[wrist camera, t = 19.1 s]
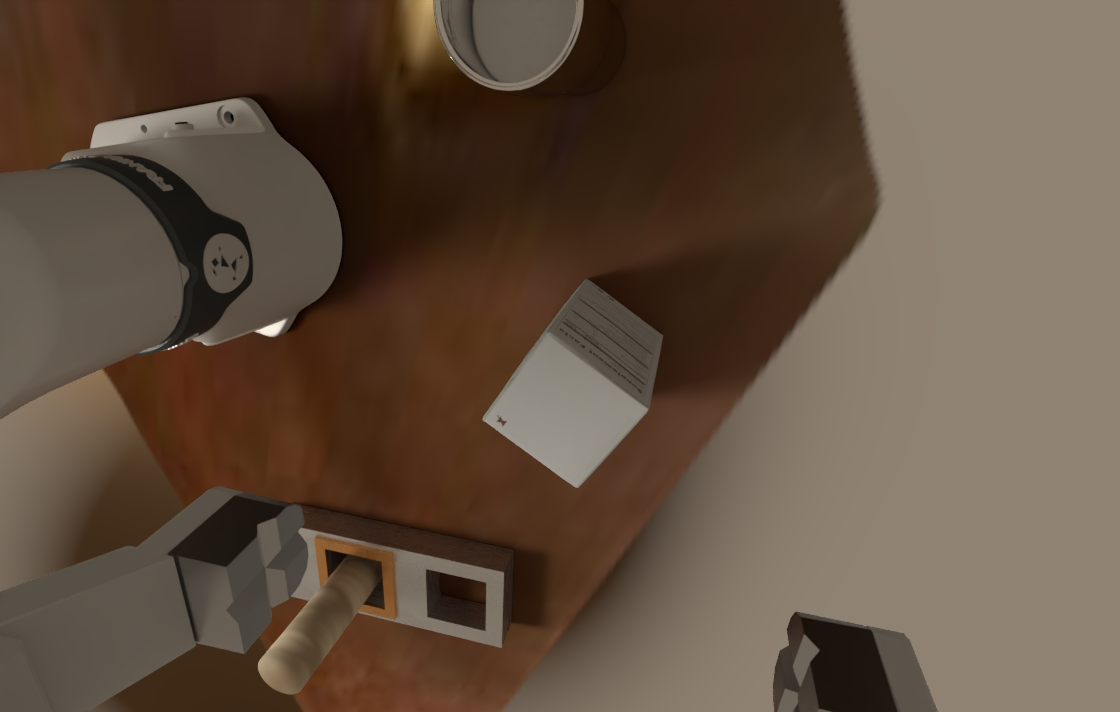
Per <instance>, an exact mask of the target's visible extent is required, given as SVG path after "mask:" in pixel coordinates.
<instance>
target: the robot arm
mask: <svg viewBox="0 0 1120 712" xmlns="http://www.w3.org/2000/svg"><path fill="white" fill-rule="evenodd" d="M231 113H232V114H233V116H234V121H232V119H231ZM341 254H342V231H341V224H340V219H339V215H338V211H337V208H336V205H335V202H334V200H333V198H332V195H331V193H330V191H329V189H328V187H327V185H326V184H325V182H324V180H323V179H322V177H321V176H320V174H319V173H318V172H317V170H316V169H315V168H314V166H313V165H312V164H311V163H310V162H309V161H308V160H307V159H306V158H305V157H304V156H303V155H302V154H301V153H300V152H299V151H298V150H296V149H295V148H294V147H293V146H291V145H290V144H289V143H288V142H286V141H285V140H284V139H283V138H282V137H281V136H280V135H279V134H278V133H277V132H276V130H275V128H274V127H273V125H272V123H271V122H270V120H269V119H268V117H267V116H266V114H265V113H264V111H263V110H262V108H261V107H260V106H259V105H258V104H257V103H256V102H255V101H254V100H252V99H250V98H246V97H242V98H235V99H229V100H224V101H218V102H213V103H207V104H202V105H196V106H191V107H185V108H180V109H174V110H169V111H163V112H158V113H152V114H147V115H141V116H136V117H130V118H125V119H119V120H114V121H108V122H103V123H100V124H98V125H97V126H96V127H95V130H94V133H93V136H92V140H91V147H90V149H84V150H78V151H72V152H68V153H66V154H65V155H64V157H63V158H62V160H61V162H58V163H56V164H54V165H51V166H49V167H48V168H46V169H44V170H32V171H19V172H6V173H0V419H2V418H4V417H5V416H7V415H9V414H10V413H12V412H14V411H15V410H17V409H19V408H20V407H22V406H24V405H25V404H27V403H29V402H31V401H33V400H35V399H37V398H39V397H41V396H43V395H45V394H47V393H48V392H50V391H53V390H55V389H57V388H59V387H62V386H64V385H66V384H68V383H71V382H73V381H75V380H77V379H80V378H82V377H84V376H87V375H89V374H91V373H93V372H96V371H98V370H100V369H102V368H105V367H107V366H109V365H112V364H114V363H116V362H119V361H121V360H123V359H125V358H128V357H130V356H132V355H147V354H153V353H156V352H159V351H162V350H166V349H172V348H175V347H177V346H180V345H182V344H185V343H187V342H189V341H191V340H194V341H198V342H203V344H204V345H216V344H219V343H222V342H225V341H228V340H231V339H234V338H236V337H239V336H242V335H245V334H248V333H250V332H253V331H254V332H257V333H260V334H263V335H266V336H269V337H275V336H278V335H281V334H284V333H285V332H286V331H287V330H288V329H289V328H290V326H291V325H292V323H293V321H294V319H295V318H296V316H297V314H298V312H300V311H301V310H302V309H303V308H305V307H306V306H308V305H310V304H311V303H313V302H315V301H316V300H317V299H319V298H320V297H321V296H322V295H323V294H324V293H325V292H326V291H327V289H328V288H329V287H330V285H331V284H332V282H333V280H334V278H335V276H336V274H337V271H338V268H339V265H340V260H341ZM304 524H305V523H304V517H303V512H302V508H301V507H299V506H297V505H295V504H292V503H288V502H284V501H280V500H276V499H272V498H268V497H263V496H259V495H255V494H251V493H247V492H240V491H236V490H232V489H228V488H224V487H220V486H219V487H216V488H212V489H209V490H208V491H206V492H205V493H204V494H203V495H201V496H200V497H199V498H198V499H196V500H195V501H194V502H193V503H191V504H190V505H189V506H188V507H186V508H185V509H184V510H183V511H181V512H180V513H179V514H178V515H176V517H174V518H173V519H172V520H170V521H169V522H168V523H167V524H165V525H164V526H163V527H162V528H160V529H159V530H158V531H157V532H155V533H154V534H153V535H152V536H150V537H149V538H148V539H147V540H145V541H144V542H143V543H142V544H140V545H139V546H138V547H137V548H136V547H131V546H126V547H123V548H121V549H118V550H115V551H112V552H109V553H107V554H104V555H101V556H98V557H96V558H93V559H90V560H87V561H85V562H82V563H79V564H76V565H74V566H70V567H68V568H65V569H62V570H60V571H57V572H54V573H51V574H48V575H45V576H43V577H40V578H37V579H35V580H32V581H29V582H26V583H23V584H21V585H18V586H15V587H12V588H9V589H7V590H4V591H1V592H0V712H87V711H89V710H90V709H92V708H94V707H95V706H97V705H99V704H100V703H102V702H104V701H105V700H107V699H109V698H110V697H112V696H114V695H115V694H117V693H118V692H120V691H122V690H124V689H125V688H127V687H129V686H130V685H132V684H134V683H135V682H137V681H139V680H140V679H142V678H143V677H145V676H147V675H149V674H150V673H152V672H153V671H155V670H157V669H158V668H160V667H162V666H163V665H165V664H167V663H168V662H170V661H172V660H173V659H175V658H177V657H178V656H180V655H182V654H183V653H185V652H187V651H188V650H190V649H192V648H193V647H195V646H196V643H199V644H203V645H208V646H212V647H216V648H221V649H225V650H230V651H234V652H238V653H243V654H245V652H246V651H247V650H248V649H249V648H250V646H251V645H252V644H253V643H254V641H255V640H256V639H257V638H258V637H259V635H260V634H261V633H262V632H263V630H264V629H265V628H266V627H267V626H268V624H269V623H270V622H271V621H272V607H274V606H276V605H278V604H280V603H282V602H284V601H286V600H288V599H289V598H290V597H291V596H292V594H293V593H294V592H295V591H296V589H297V588H298V587H299V585H300V583H301V581H302V578H303V576H304V574H305V571H306V569H307V563H308V556H309V554H308V545H307V543H306V542H305V540H304V539H303V538H302V536H301V535H300V534H299V533H298V531H299V530H300V528H301V527H302V526H303V525H304ZM787 634H788V640H789V646H787V647H786V648H784V649H782V650H780V652H779V656H778V660H777V663H776V666H775V674H774V682H773V701H774V712H938V711H937V708H936V706H935V703H934V701H933V698H932V696H931V693H930V690H929V688H928V686H927V683H926V680H925V678H924V675H923V673H922V670H921V668H920V665H919V663H918V660H917V657H916V655H915V652H914V650H913V647H912V645H911V642H910V640H909V639H908V638H907V637H906V636H905V634H904V633H899V632H894V631H889V630H884V629H879V628H874V627H869V626H866V627H865V626H863V625H858V624H854V623H849V622H844V621H839V620H834V619H830V618H825V617H820V616H815V615H810V614H805V613H800V612H795V613H794V614H793V616H792V617H791V619H790V622H789V625H788V628H787Z"/></svg>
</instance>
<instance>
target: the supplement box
mask: <svg viewBox="0 0 1120 712" xmlns="http://www.w3.org/2000/svg"><path fill="white" fill-rule="evenodd" d="M662 340H663V335H662V334H660V333H659V332H657V331H656V330H655V329H654V328H652V327H651V326H650V325H648V324H647V323H646V322H644V321H643V320H642V319H640V318H639V317H638V316H636V315H635V314H634V313H632V312H631V311H630V310H629V309H627V308H626V307H624V306H623V305H622V304H621V303H619V302H618V301H617V300H615V299H614V298H613V297H611V296H610V295H609V294H607V293H606V292H605V291H603V290H602V289H600V288H599V287H598V286H597V285H595V284H594V283H593V282H591V281H590V280H588V279H585V280H584V281H583V282H582V284H581V285H580V286H579V287H578V288H577V290H576V291H575V292H574V293H573V295H572V296H571V297H570V298H569V300H568V301H567V302H566V303H565V305H564V306H563V307H562V309H561V310H560V311H559V313H558V314H557V315H556V317H555V318H554V319H553V321H552V322H551V323H550V325H549V326H548V327H547V329H546V330H545V331H544V333H543V334H542V335H541V337H540V338H539V339H538V341H537V342H536V343H535V345H534V346H533V347H532V349H531V350H530V352H529V353H528V354H527V356H526V357H525V358H524V360H523V361H522V363H521V364H520V365H519V367H518V368H517V370H516V371H515V373H514V374H513V375H512V377H511V378H510V380H509V381H508V382H507V384H506V385H505V387H504V388H503V390H502V391H501V393H500V394H499V395H498V397H497V398H496V400H495V401H494V403H493V404H492V405H491V407H490V408H489V410H488V411H487V412H486V414H485V415H484V417H483V421H485V422H486V423H488V424H489V425H491V426H492V427H493V428H495V429H496V430H497V431H499V432H500V433H501V434H503V435H504V436H505V437H507V438H508V439H510V440H511V441H512V442H514V443H515V444H516V445H518V446H519V447H520V448H522V449H523V450H524V451H526V452H527V453H529V454H530V455H531V456H533V457H534V458H536V459H537V460H538V461H540V462H541V463H542V464H544V465H545V466H546V467H548V468H549V469H551V470H552V471H553V472H555V473H556V474H557V475H559V476H560V477H561V478H563V479H564V480H566V481H567V482H568V483H570V484H571V485H573V486H574V487H576V488H578V487H579V486H580V485H581V484H582V483H583V482H584V481H585V480H586V479H587V478H588V477H589V476H590V475H591V474H592V473H593V472H594V471H595V470H596V468H597V467H598V466H599V465H600V464H601V463H602V462H603V461H604V460H605V459H606V457H607V456H608V455H609V454H610V453H611V452H612V451H613V450H614V449H615V448H616V446H617V445H618V444H619V443H620V442H621V441H622V440H623V439H624V438H625V436H626V435H627V434H628V433H629V432H630V431H631V430H632V429H633V428H634V426H635V425H636V424H637V423H638V422H639V421H640V420H641V419H642V417H643V416H644V415H645V414H646V413H647V412H648V410H649V406H650V401H651V396H652V391H653V386H654V381H655V377H656V372H657V367H658V361H659V356H660V351H661V346H662Z"/></svg>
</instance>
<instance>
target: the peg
mask: <svg viewBox="0 0 1120 712" xmlns="http://www.w3.org/2000/svg"><path fill="white" fill-rule="evenodd" d="M382 577H383V574H382V562H381V561H376V560H372V559H368V558H363V557H359V556H354V555H350V554H348V555H347V556H346V558H345V559H344V560H343V561H342V562H341V564H340V565H339V566H338V567H337V568H336V570H335V571H334V572H333V573H332V574H331V576H330V577H329V578H328V579H327V580H326V582H325V583H324V584H323V585H322V586H321V588H320V589H319V590H318V591H317V592H316V593H315V595H314V596H313V597H312V598H311V599H310V601H309V602H308V603H307V604H306V605H305V607H304V608H303V609H302V610H301V611H300V613H299V614H298V615H297V616H296V617H295V619H294V620H293V621H292V622H291V623H290V625H289V626H288V627H287V628H286V629H285V631H284V632H283V633H282V634H281V635H280V637H279V638H278V639H277V640H276V641H275V643H274V644H273V645H272V646H271V647H270V649H269V650H268V651H267V652H266V653H265V655H264V656H263V657H262V658H261V659H260V661H259V663H258V670H259V673H260V675H261V677H262V678H263V679H264V681H265V682H266V683H267V684H268V685H269V686H271V687H272V688H274V689H275V690H277V691H279V692H282V693H285V694H296V693H299V692H300V691H301V690H302V689H303V687H304V686H305V684H306V683H307V682H308V680H309V679H310V678H311V676H312V675H313V673H314V672H315V671H316V669H317V668H318V666H319V665H320V664H321V662H322V661H323V659H324V658H325V657H326V655H327V654H328V652H329V651H330V650H331V648H332V647H333V646H334V644H335V643H336V641H337V640H338V639H339V637H340V636H341V634H342V633H343V632H344V630H345V629H346V627H347V626H348V625H349V623H350V622H351V620H352V619H353V618H354V616H355V615H356V614H357V612H358V611H359V609H360V608H361V607H362V605H363V604H364V602H365V601H366V600H367V598H368V597H369V595H370V594H371V593H372V591H373V590H374V588H375V587H376V586H377V584H378V583H379V582H380V580H381V579H382Z"/></svg>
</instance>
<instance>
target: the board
mask: <svg viewBox="0 0 1120 712" xmlns="http://www.w3.org/2000/svg"><path fill="white" fill-rule="evenodd" d="M292 504H295V505H297V506H299V507H301V508H302V512H303V517H304V523H305V524H304V525H303V526H302V527H301V528H300V530H299V531H298V533H299V534H300V535H301V536H302V538H303V539H304V540H305V542H306V543H307V545H308V554H309V556H308V563H307V569H306V571H305V574H304V576H303V578H302V581H301V583H300V585H299V587H298V588H297V589H296V591H295V592H294V593H293V594H292V597H296V598H300V599H304V600H308V601H310V599H311V598H312V597H313V596H314V595H315V593H316V592H317V591H318V590H319V589H320V588H321V586H322V585H323V584H324V583H325V582H326V580H327V579H328V578H329V577H330V576H331V574H332V573H333V572H334V571H335V570H336V568H337V567H338V566H339V565H340V564H341V562H342V561H343V560H344V559H345V558H346V556H347V554H350V555H354V556H359V557H363V558H368V559H372V560H376V561H381V562H382V574H383V581H382V580H380V582H379V583H378V584H377V586H376V587H375V588H374V590H373V591H372V593H371V594H370V595H369V597H368V598H367V600H366V601H365V602H364V604H363V605H362V607H361V608H360V609H359V611H358V612H357V613H361V614H366V615H370V616H374V617H378V618H382V619H386V620H390V621H394V622H398V623H402V624H406V625H410V626H414V627H419V628H423V629H427V630H431V631H435V632H439V633H443V634H447V635H451V636H455V637H459V638H463V639H468V640H472V641H476V642H480V643H484V644H488V645H492V646H496V647H500V648H502V646H503V643H504V641H505V638H506V636H507V633H508V631H509V628H510V626H511V622H512V596H513V569H514V550H513V549H508V548H503V547H499V546H494V545H489V544H484V543H480V542H475V541H470V540H466V539H461V538H456V537H451V536H447V535H442V534H437V533H433V532H428V531H423V530H418V529H414V528H409V527H404V526H400V525H395V524H390V523H385V522H381V521H376V520H371V519H367V518H362V517H357V516H352V515H348V514H343V513H338V512H333V511H329V510H324V509H319V508H315V507H310V506H305V505H300V504H296V503H292ZM440 572H441V573H446V574H450V575H454V576H459V577H463V578H468V579H472V580H477V581H481V582H486V605H485V604H481V603H476V602H472V601H468V600H463V599H459V598H455V597H451V596H446V595H442V594H440Z"/></svg>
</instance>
